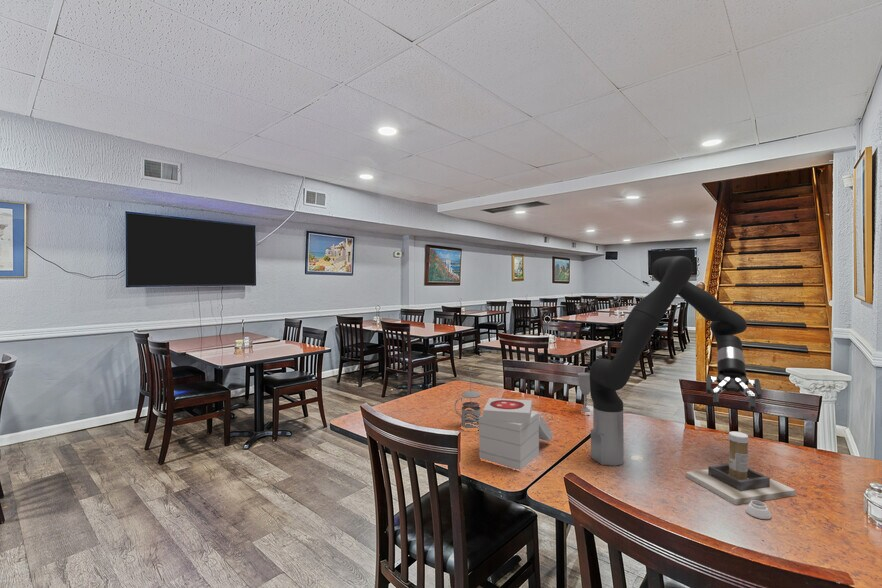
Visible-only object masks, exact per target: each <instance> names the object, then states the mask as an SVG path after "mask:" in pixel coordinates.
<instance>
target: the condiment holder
mask: <svg viewBox="0 0 882 588" xmlns="http://www.w3.org/2000/svg"><path fill="white" fill-rule="evenodd" d="M685 477H686V479H688V480H691V481H692V482H694V483H696V484H698V485H699V486H701V487H703V488H704V489H707V490H708V491H710V492H712V493H713V494H715V495H717V496H719V497H720V498H722V499H724V500H726V501H728V502H729V503H731V504H733V505H735V506H738V505H745V504H749V503H750V502H751V501H752V500H757V501H760V502H764V501H769V500H776V499H782V498H789V497H794V496H795V497H796V496H797V494H796V491H797V490H796V489H794V488H792V487H790V486H788V485H785V484H783V483H782V482H778V481H777V480H774V479H772V478H770V477H768V476H766V475H764V474H762V473H760V472H758V471H756V470H754V469H751V468H749V467H748V471H747V479H744V480H739V479H737V478H735V477H733V476H731V475H729V463H724V464H715V465H708V467H707V469H698V470H691V471H685Z"/></svg>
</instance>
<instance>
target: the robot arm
mask: <svg viewBox="0 0 882 588" xmlns="http://www.w3.org/2000/svg"><path fill="white" fill-rule="evenodd" d="M693 269H694V264H693V261H692V260H691V258H689V257H687V256H683V255H675V256H664V257H660V258H657V259H656V260H655V261H654V262H653V263H652V265H651V274H652V276H653V278H654V279H655V280H656V281H657V282H659V284H658V285H657V286H656V287H655V288H654V289H653V291H651V292H650V293H649V294H647V295H646V296H645V297H643V298H642V299H641V300H639V302H637V303H636V304H635V305H634V306H633V308H632V309H631V311H630V312H629V314H628V316H627V317H626V319H625V320H624V323H623V327H622V340H621V345H620V347H619V349H618V351H617V352H616V354H615V356H614V357H613V358H612V360H611V359H608V358H604V357H603V358H598V359H596V360H594V361H593V363H592V364H591V366H590V369H589V373H590V392H589V394H590V398H591V401H592V406H593V407H592V408H593V410H592V412H593V413H592V414H593V415H592V419H593V421H592V422H593V423H592V424H593V425H592V426H593V428H592V429H590V458H591V459H593V460H594V461H596V462H597V463H598V464H600V465H601V466H603V465H604V466H615V467H616V466H620V465H623V464H624V463H625V461H624V460H625V457H624V456H625V455H624V452H625V451H624V450H625V447H624V444H625V443H624V402H623V400H622V398H620V396H619V395H618V392H617V391H619V390H622V389H623V388H624V387H625V386H626V385H627V383H628V382H629V380H630V378H631V375H632V374H633V371H634V369H635V367H636V364H637V362H638V360H639V358H640V356H641V354H642V352H643V351H644V349H645V347H646V346H647V344H648V343H649V341H650V339H651V338H652V336H653V334H654V333H655V331H657V330H656V329H657V328H658V326H659V324H660V322H661V320H662V319H663V317H664V316H665V314H666V312H667V310H669V308H670V306H671V304H672V303H673V302H674V300H675V299H676V297H677V296H679V297H680V298H682V300H683V301H685V302H686V303H688V304H689V305H690V306H691V307H692V308H693V309H694V310H695V311H696V312H698V313H699V314H700V315H701V316H702V317H703V318H704V319H705V320H707V321H708V322H711V323H710V324H709V328H710V331H711V333H712V335H713V337H714V339H715V343H716V350H717V353H716V354H717V355H716V365H717V366H716V367H717V376H712V375H711V374H707V375H706V386H705V387H706V389H705V393H706V394H708V395H711V396H712V403H713V405H715V406H716V407H719V405H720V399H719V398H720V397H719V395H720V394H721V393H723V392H724V391H727V392H733V393H739V392H740V393H741V394H743V395H744V396H746V397H747V399H748V407H749V411H754V410H755V409H756V407H757V406H756V405H757V403H756V400H761V399H762V396H763V390H762V386H761V381H760V379H759V378H755V379H749V378H747V372H746V370H747V369H746V360H745V356H744V353H743V352H744V350H743V343H742V340H741V338H739V337H738V335H739V334H741V333H743V332H745V331H746V330H747V326H748V325H747V321H746V319H745V318H744V317H743V316H742V315H741V314H739V313H738V312H736V311H734V310H732V309H730V308H729V307H727V306H724V305H723V304H722V303H720V301H719V300H718V299H717V298H716V297H715V296H713V295H712V294H711V293H709V291H706V290H705V289H703V288H701V287H699V286H697V285H695V284H694V283H692V282H690V278H691V277H692V274H693V271H694V270H693ZM736 335H737V336H736ZM715 382H716V383H718V384H717V386H716V387H715V388H712V384H714V383H715ZM748 385H751V387H752V388H754V392H753V391H752V390H751V389H750V387H749V386H748Z"/></svg>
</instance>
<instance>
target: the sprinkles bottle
mask: <svg viewBox="0 0 882 588" xmlns="http://www.w3.org/2000/svg"><path fill="white" fill-rule="evenodd" d="M728 439H729V440H728V442H729V446H728V447H729V451H728V464H729V475H731V476H733V477H735V478H737V479H739V480H744V479H747V471H748V468H749V453H748V451H749V450H748V448H749V447H748V444H749V435H748V434H747V433H744V432H741V431H729V432H728Z"/></svg>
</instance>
